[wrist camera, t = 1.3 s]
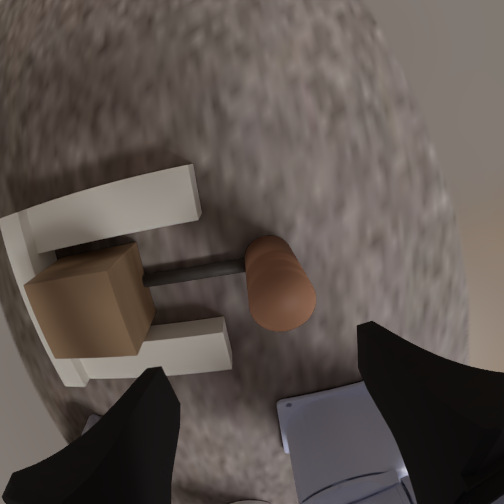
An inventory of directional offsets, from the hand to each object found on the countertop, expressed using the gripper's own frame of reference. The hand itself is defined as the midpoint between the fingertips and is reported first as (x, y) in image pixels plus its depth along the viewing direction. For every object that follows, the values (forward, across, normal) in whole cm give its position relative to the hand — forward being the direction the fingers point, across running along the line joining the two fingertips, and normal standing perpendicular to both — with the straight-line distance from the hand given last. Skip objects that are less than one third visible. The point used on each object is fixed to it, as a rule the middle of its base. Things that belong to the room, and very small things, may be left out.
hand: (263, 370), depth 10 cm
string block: (+9, +5, -1) cm, 11 cm away
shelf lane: (+10, +8, -1) cm, 12 cm away
